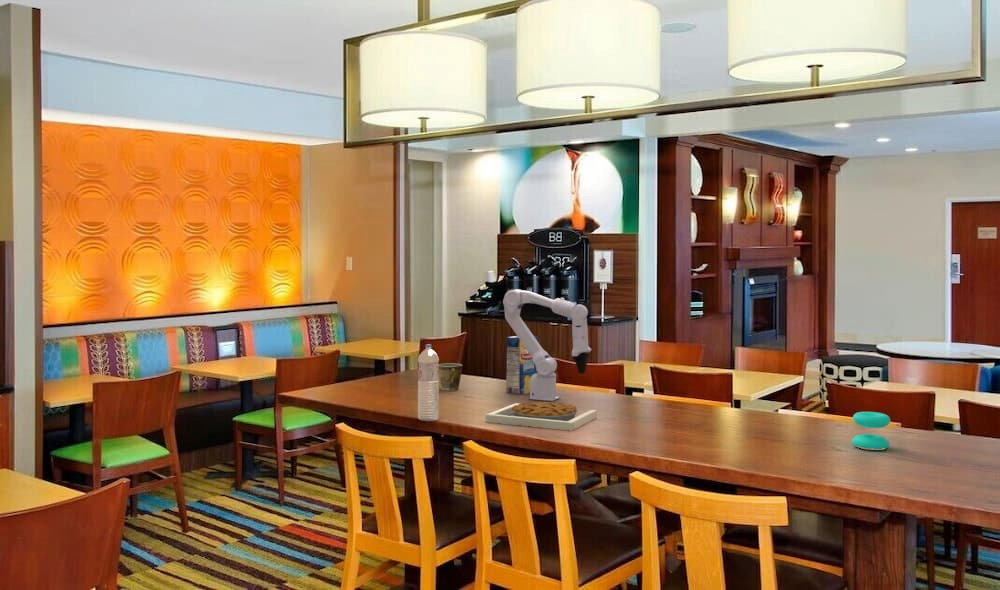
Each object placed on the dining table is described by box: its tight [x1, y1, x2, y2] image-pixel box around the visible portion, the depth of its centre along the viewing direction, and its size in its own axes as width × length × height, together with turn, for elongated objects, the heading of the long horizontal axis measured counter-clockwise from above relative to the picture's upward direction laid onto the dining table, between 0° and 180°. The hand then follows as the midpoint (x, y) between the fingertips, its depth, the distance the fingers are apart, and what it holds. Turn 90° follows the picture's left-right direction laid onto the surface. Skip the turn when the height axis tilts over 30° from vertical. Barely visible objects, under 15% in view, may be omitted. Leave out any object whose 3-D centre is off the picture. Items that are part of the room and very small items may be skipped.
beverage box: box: [505, 335, 538, 395], centre depth 355 cm, size 7×11×22 cm, turn 139°
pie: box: [511, 401, 578, 421], centre depth 300 cm, size 22×22×5 cm
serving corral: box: [485, 402, 598, 432], centre depth 299 cm, size 30×24×2 cm
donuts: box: [851, 411, 891, 449], centre depth 260 cm, size 10×10×10 cm
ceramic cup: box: [438, 362, 463, 392], centre depth 358 cm, size 13×10×10 cm
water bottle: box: [417, 343, 440, 422], centre depth 297 cm, size 7×7×25 cm
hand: (582, 373), depth 335 cm, fingers closed
